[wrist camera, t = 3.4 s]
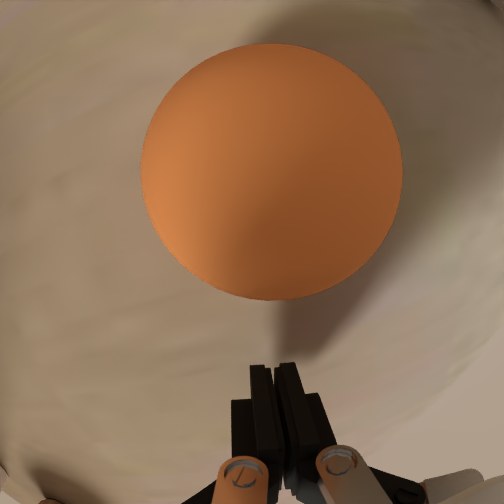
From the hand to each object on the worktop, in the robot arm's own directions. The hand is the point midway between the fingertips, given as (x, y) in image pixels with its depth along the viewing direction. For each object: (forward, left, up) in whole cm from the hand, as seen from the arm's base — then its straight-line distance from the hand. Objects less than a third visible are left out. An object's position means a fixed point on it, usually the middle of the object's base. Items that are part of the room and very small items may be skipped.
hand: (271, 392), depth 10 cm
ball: (0, +8, +2) cm, 8 cm away
